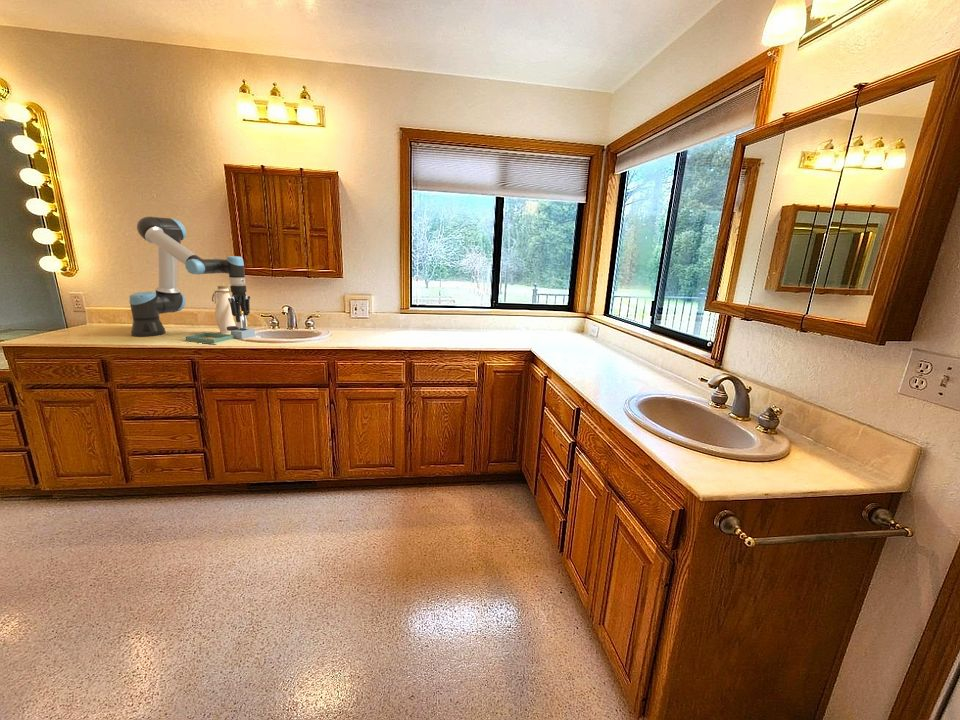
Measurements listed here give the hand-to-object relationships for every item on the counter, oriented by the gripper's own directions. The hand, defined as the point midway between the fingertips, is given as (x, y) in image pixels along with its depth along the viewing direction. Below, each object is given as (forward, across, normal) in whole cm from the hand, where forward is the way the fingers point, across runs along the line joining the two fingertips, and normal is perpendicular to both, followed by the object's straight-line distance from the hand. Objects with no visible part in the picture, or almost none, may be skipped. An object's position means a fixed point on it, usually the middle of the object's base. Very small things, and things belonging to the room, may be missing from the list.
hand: (242, 327), depth 229 cm
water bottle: (+7, +6, +17) cm, 19 cm away
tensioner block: (+7, 0, +3) cm, 7 cm away
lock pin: (+6, 0, 0) cm, 6 cm away
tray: (+7, -12, +10) cm, 17 cm away
